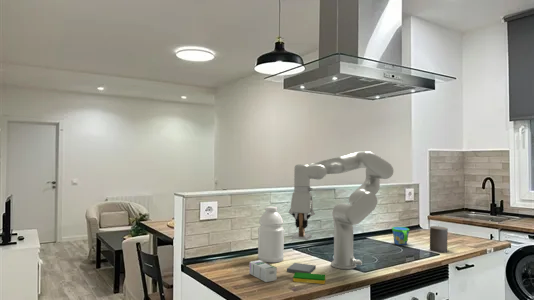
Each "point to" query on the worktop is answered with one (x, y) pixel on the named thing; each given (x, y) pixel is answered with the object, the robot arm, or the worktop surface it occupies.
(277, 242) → the bottle
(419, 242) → the worktop surface
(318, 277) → the dish sponge
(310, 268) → the rubber mat
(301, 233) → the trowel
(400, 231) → the snack cup
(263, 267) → the syrup box
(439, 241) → the pillar candle
